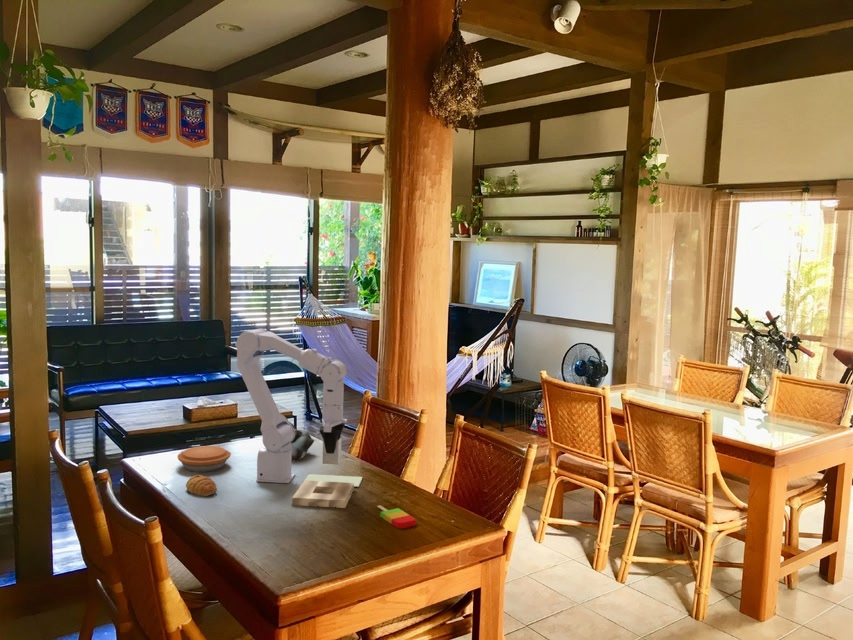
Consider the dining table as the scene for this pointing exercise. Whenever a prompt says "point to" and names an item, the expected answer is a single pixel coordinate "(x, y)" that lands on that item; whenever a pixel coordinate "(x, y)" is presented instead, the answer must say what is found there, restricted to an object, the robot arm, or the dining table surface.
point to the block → (334, 457)
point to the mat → (335, 479)
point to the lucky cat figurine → (300, 443)
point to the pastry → (201, 485)
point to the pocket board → (323, 494)
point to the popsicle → (397, 517)
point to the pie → (204, 458)
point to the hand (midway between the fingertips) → (332, 450)
